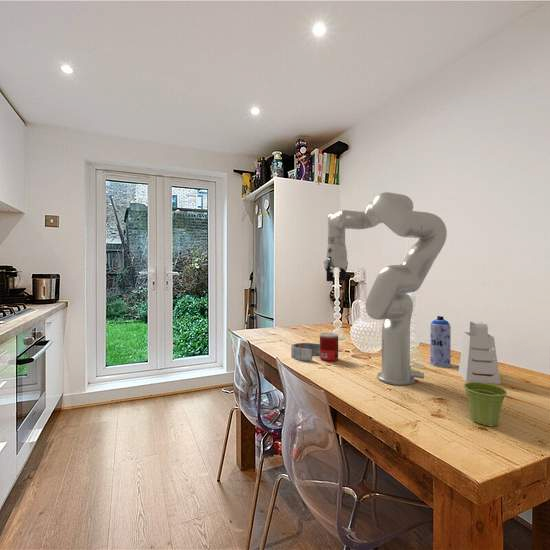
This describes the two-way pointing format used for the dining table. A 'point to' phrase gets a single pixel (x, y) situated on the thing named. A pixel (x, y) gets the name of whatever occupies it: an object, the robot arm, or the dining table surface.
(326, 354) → the canned food
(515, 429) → the dining table surface
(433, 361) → the aerosol can
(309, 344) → the duct collar
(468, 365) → the grater
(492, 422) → the plant pot
